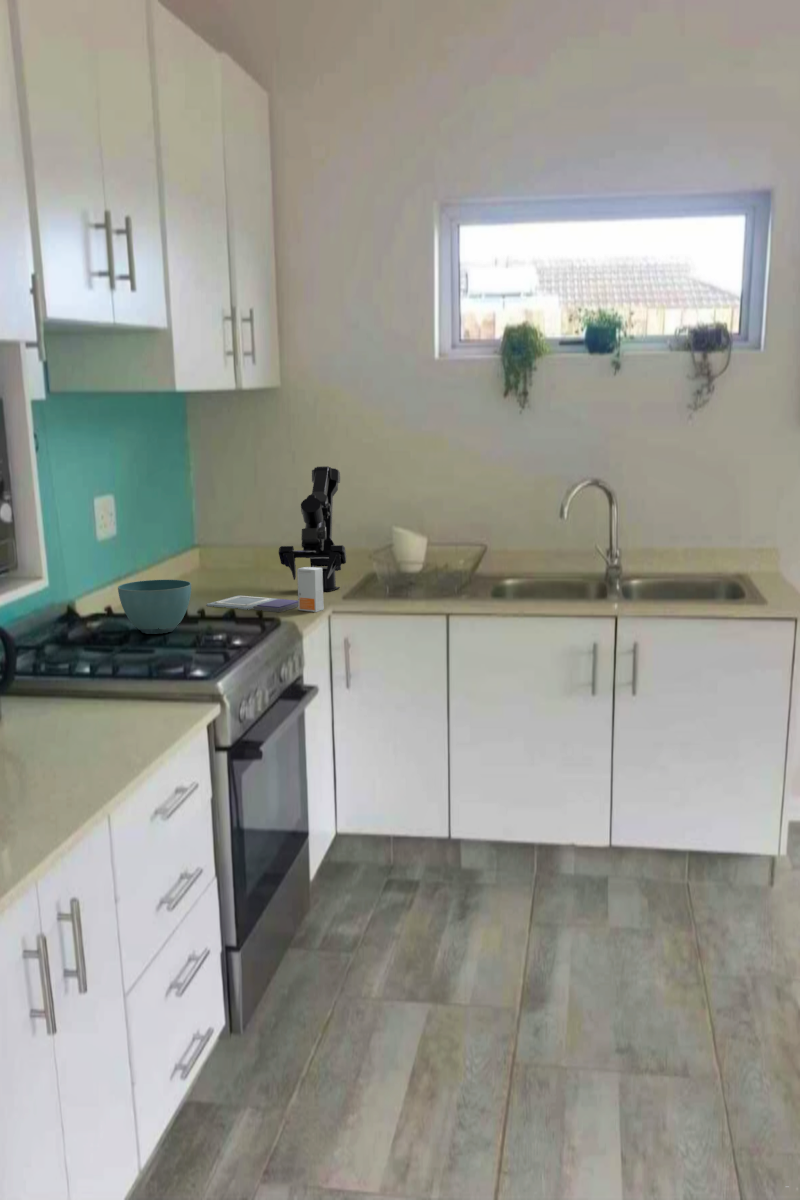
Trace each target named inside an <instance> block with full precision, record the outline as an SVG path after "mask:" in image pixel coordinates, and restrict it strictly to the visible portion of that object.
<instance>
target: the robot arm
mask: <svg viewBox="0 0 800 1200" xmlns="http://www.w3.org/2000/svg"><path fill="white" fill-rule="evenodd" d="M311 482H312V484H313V485H312V490H311V494H308V495H307V496H306V498H305V499H304V500H302V501H301V503H300V512H301V515H302V518H303V519H302V520H303V522H304V523H305V526H304V527H305V528H302V529H301V548H302V549H300V550H299V549H295V548H294V545H280V547H279V548H278V557H279V560H280V564H281V565H283V566H285V567H286V568H287V567H288V568H289V570H290V572H291V574H292V578H293V580H294V581H295V580H296V576H297V574H296V573H297V572H296V571H297V567H296V559H301V558H302V559H303V558H305V559H309V562H310V567H318V568H322V569H323V592H332V590H333V591H336V590H338V588H341V587H340V586H337V585H336V583H337V582H336V572H339V571H341V570H342V565H345V564H346V563H347V553H346V552H347V551H346V546H345V545H344V544H335V543H334V541H333V540H332V538H333V537H332V536H333V535H332V534H333V533H332V532H333V531H332V530H333V503H334V502H333V501H334V500H333V498H334V496H335V494H336V493H337V491H338V490H339V484H340V483H341V472H340V470H339V469H336V467H335V468H333V467H331V466H328V465H327V466H325V465H323V466H316V467H314V469H312V470H311ZM335 589H336V590H335Z"/></svg>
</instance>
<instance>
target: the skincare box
mask: <svg viewBox="0 0 800 1200" xmlns="http://www.w3.org/2000/svg"><path fill="white" fill-rule="evenodd" d="M296 571H297V572H296V573H297V574H296V576H297V600H298V607H297V608H298V611H303V612H312V613H319V612H321V611H323V610H324V609H325V608H324V591H323V569H322V568H318V567H311V566H303V567H299V568H296Z"/></svg>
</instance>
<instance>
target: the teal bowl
mask: <svg viewBox="0 0 800 1200" xmlns="http://www.w3.org/2000/svg"><path fill="white" fill-rule="evenodd" d="M191 593H192V582H191V581H187V580H183V579H181V580H180V579H147V580H138V581H131V582H127V583H123V584H120V585H118V586H117V594H118V596H119V602H120V604H121V607H122V609H123V611H124V613H125V615H126V617H127V619H128V621H130V623H131V624H132V625H133V627H134V628H135V627H137V628H141V629H158V628H159V629H166V628H171V627H174V626H177V625H178V624H179V623H181V622H182V620H183V619H184V616H186V613H187V610H188V608H189V605H190V599H191V596H192V595H191ZM179 625H180V624H179ZM179 625H178V626H179ZM178 626H177V627H178Z"/></svg>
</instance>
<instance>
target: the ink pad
mask: <svg viewBox="0 0 800 1200" xmlns="http://www.w3.org/2000/svg"><path fill="white" fill-rule="evenodd" d="M276 599H277V600H273V601H269V602H266V603H262V604H259V605H257V606H254V608H253V610H254V611H261V610H262V612H263V611H264V612H273V613H281V612H284V611H289V610H292V609H295V608H298V599H297V600H295V599H284V598H276Z"/></svg>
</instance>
